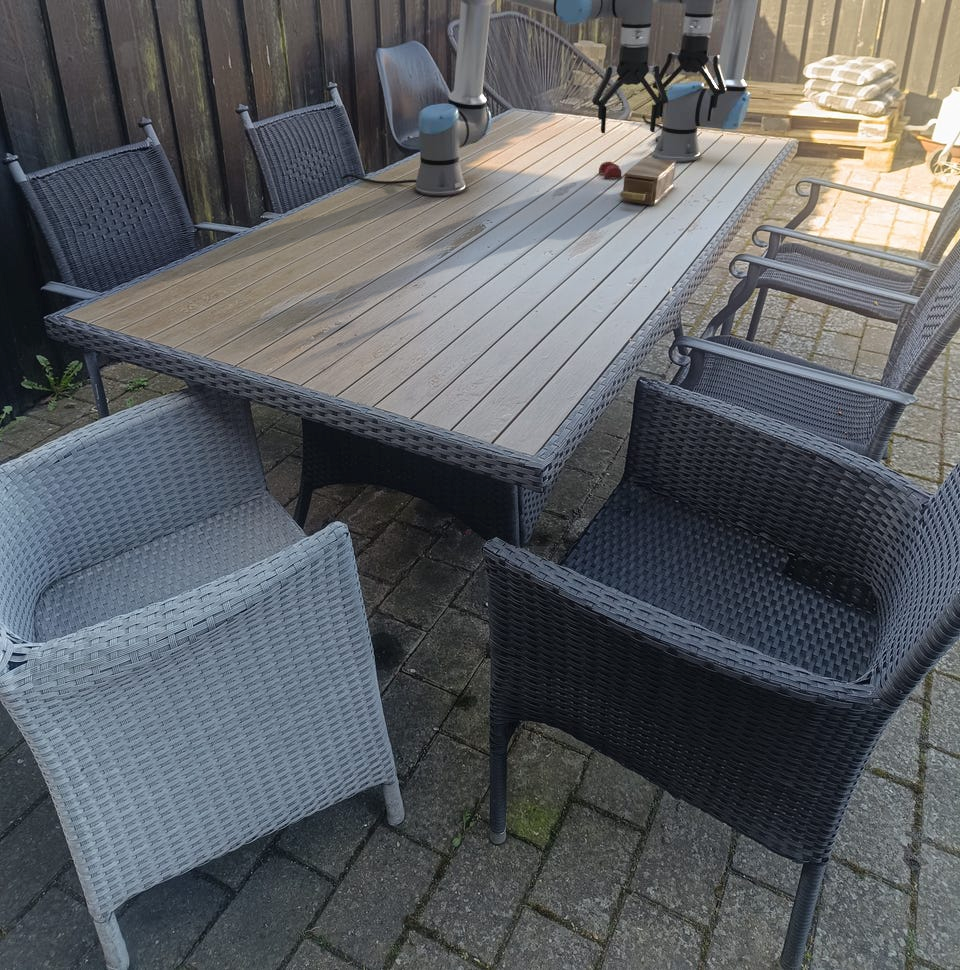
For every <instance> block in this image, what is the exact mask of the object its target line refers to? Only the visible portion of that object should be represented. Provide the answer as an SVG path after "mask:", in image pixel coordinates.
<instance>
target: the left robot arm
mask: <svg viewBox="0 0 960 970" xmlns="http://www.w3.org/2000/svg"><path fill="white" fill-rule="evenodd" d="M495 1H496V0H460V8H459V9H460V11H459V21H458V34H457V47H456V59H455V71H454V72H455V73H454V84H453V85H454V86H453V91H452V92H450V93H449V94H448V97H447V98H448V100H447V103H436V104H431V105H428V106H426V107H424V108H422V109H421V110H420V112H419V114H418V126H417V127H418V136H419V138H418V139H419V157H420V158H419V159H420V161H419V162H420V164H419V168H418V172H417V176H416V179H404V180H375V179H370V178H364V177H362V176H359V175H357V174H354V173H347V174H344V175H343V176H342V177H341V180H345V179H346V178H348V177H350V178H355V179H357V180H360V181H363V182H368V183H372V184H379V185H397V184H398V185H399V184H412V183H415V192H417V193H418V194H420V195H424V196H430V197H450V196H455V195H459V194H461V193H463V192H464V191H466V181H465V179H464V176H463V172H462V169H461V165H460V148H463V147H466V146H468V145H473V144H475V143H477V142H479V141H481V140H482V139H484V138H485V137H486V136H487V134H488V133H489V131H490V129H491V127H492V126H491V125H492V114H491V111H490V110H489V107H488V105H487V102H488V101H487V97H485V95H484V94H483V92H484V91H483V90H484V89H483V88H484V81H485V80H484V79H485V69H486V59H487V51H488V50H487V49H488V39H489V32H490V31H489V30H490V20H491V19H490V18H491V10H492V4H493V3H494V2H495ZM504 1H505V2H509V3H512V4H515V5H518V6H522V7H525V8H528V9H532V10H535V11H538V12H542V13H545V14H548V15H552V16H554V17H558V18H559V19H560V20H561V22H563V23H564V24H567V25H579V24H582V23H585V22H589V21H594V20H598V19H602V18H603V19H604V18H608V19H621V25H620V27H621V28H620V39H619V41H620V42H619V43H620V44H621V45H620V46H619V53H618V64H617V66H611V65H607V66H606V67H605V71H604V75H603V78H602V79H601V82H600V83H599V86H598V88H597V89H596V91H595V93H594V94H593V97H592V99H591V103H592V104H593V105H594V106H597V107H598V109H597V119H598V120H600V132H601V134H605V133H606V126H607V125H606V124H607V105H606V104H607V103H608V102H609V101H610V99H611V98H612V97H613V96H614V95H615V93H616V92H617V91H618V90H619V89H620V88H621V87H622V86H623V85H626V86H630V85H635V86H638V85H639V84H641V85H642V86H643V88H644V90H646V92H647V93H648V95H649V96H650V97H651V99H652V100H653V102H654V103H655V104H651V114H650V122H651V123H650V124H649V131H650V132H651V133H655V131H656V126H655V123H657V122H656V120H657V119H660V118H661V117H660V109H661V106H662V104H665V103H668V98H667V95H666V92H665V90H666V88H665V89H664V86H663V81H661V78H660V75H659V74H660V66H659V65H658V64H656V63H655V64H653V65H649V63H648V62H649V52H650V47H649V46H648V45H649V44H650V41H651V40H650V39H651V27H652V17H653V8H654V2H653V0H504ZM615 73H616V74H617V75H618V77H617V79H615V80H614V83H613V84H612V85H611V86H610V88H609V89H608V90H607V91H606V92H605V90H606V88H607V86H608V83H610V81H611V77H612V76H614V75H615ZM648 73H650V74H651V75H652V76H653V79H654V82H656V84H657V87H658V90H659V91H658V90H657V91H658V93H660V96H661V99H659V98H658V94H656V93H655V91H654V90H653V87H651V85H650V84H649V82H648V81H647V79H646V78H645V77H646V76H647V74H648ZM604 92H605V93H604ZM602 95H603V96H602Z"/></svg>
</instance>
